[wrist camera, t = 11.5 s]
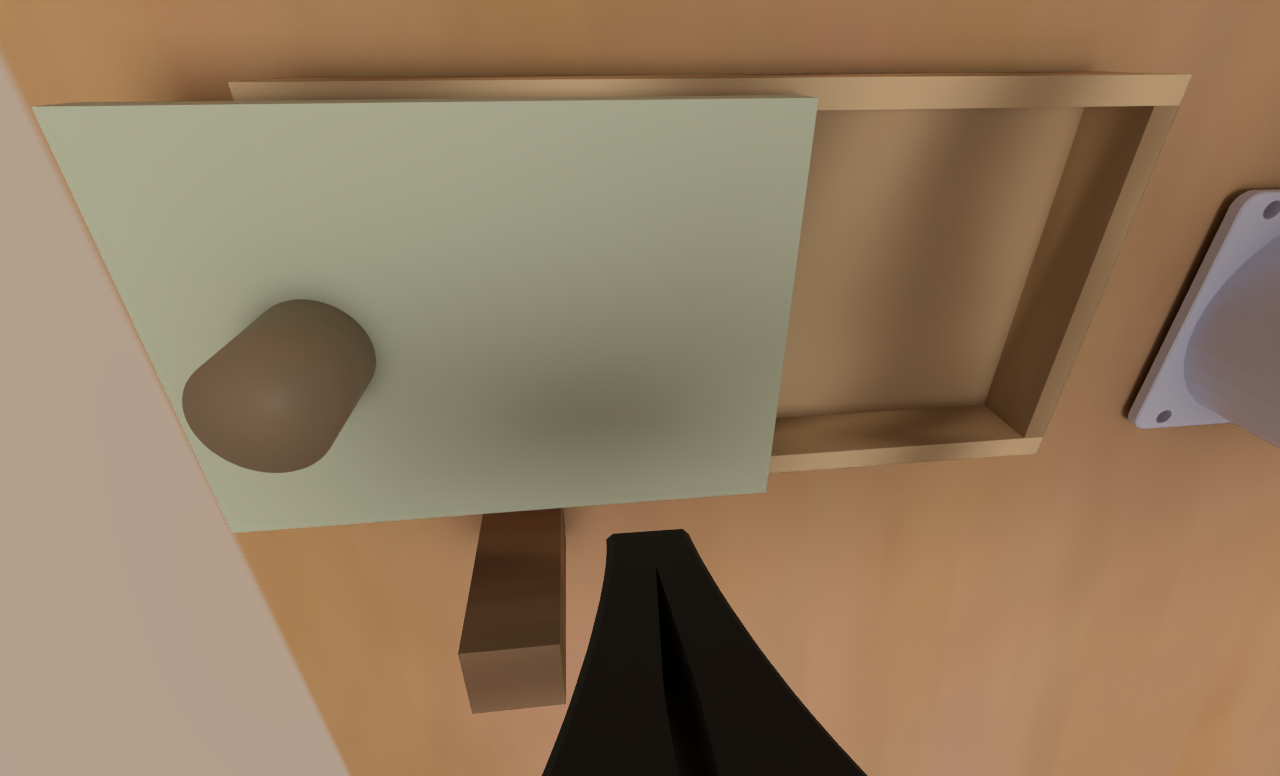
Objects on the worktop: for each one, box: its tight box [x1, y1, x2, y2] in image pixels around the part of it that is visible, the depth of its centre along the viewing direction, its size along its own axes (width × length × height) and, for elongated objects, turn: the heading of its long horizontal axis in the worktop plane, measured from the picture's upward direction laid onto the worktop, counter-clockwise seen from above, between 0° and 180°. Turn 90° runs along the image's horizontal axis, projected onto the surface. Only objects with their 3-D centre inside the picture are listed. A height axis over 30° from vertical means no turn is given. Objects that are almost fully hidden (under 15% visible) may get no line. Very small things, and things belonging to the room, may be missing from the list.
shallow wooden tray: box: [228, 72, 1192, 473], centre depth 15 cm, size 20×10×2 cm, turn 90°
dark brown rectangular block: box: [458, 508, 566, 714], centre depth 17 cm, size 2×2×6 cm
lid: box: [31, 95, 818, 533], centre depth 12 cm, size 13×9×4 cm
